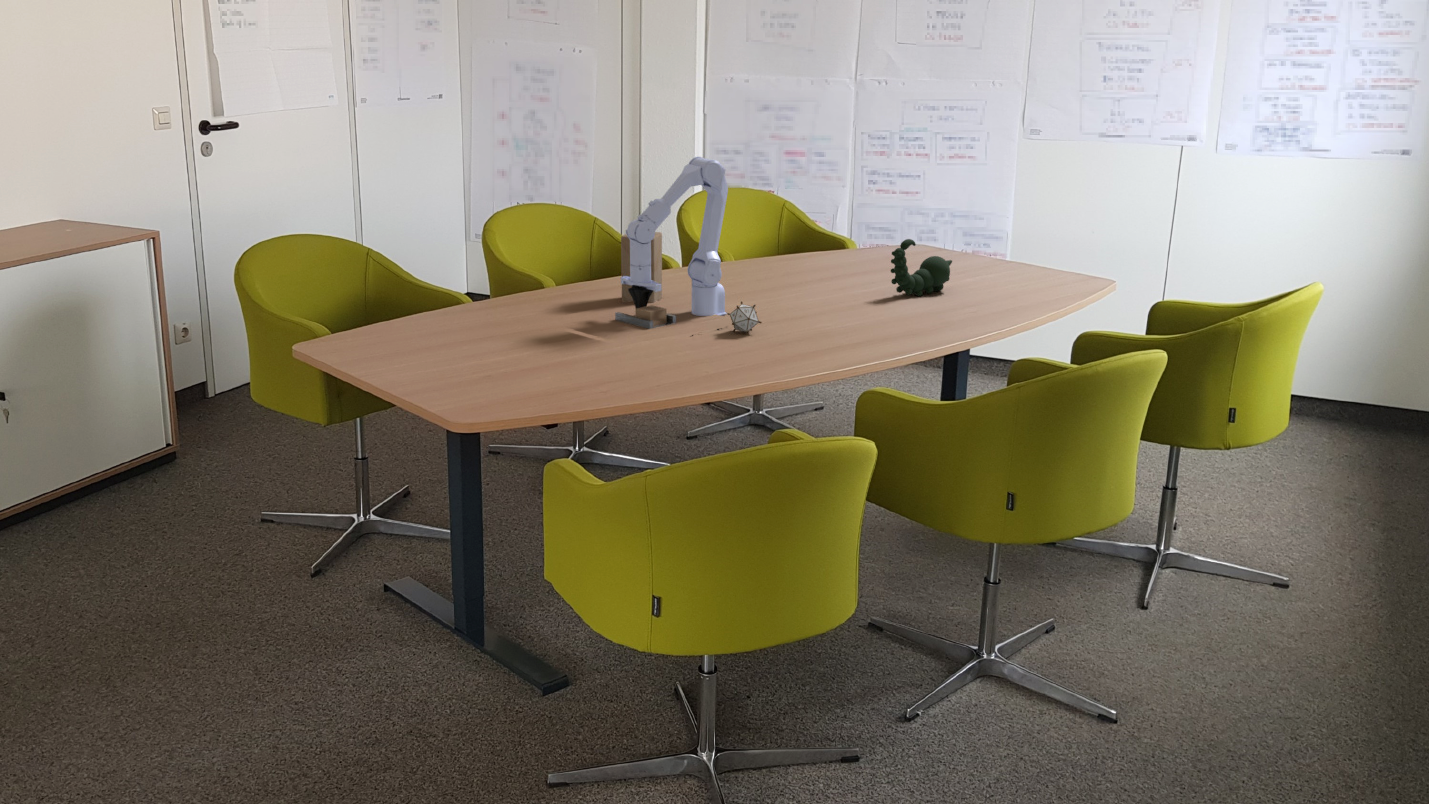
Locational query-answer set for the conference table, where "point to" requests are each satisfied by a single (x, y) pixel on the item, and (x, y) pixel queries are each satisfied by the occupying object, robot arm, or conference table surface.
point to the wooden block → (655, 266)
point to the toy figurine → (919, 272)
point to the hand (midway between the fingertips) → (641, 313)
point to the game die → (744, 318)
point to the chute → (643, 320)
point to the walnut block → (652, 314)
